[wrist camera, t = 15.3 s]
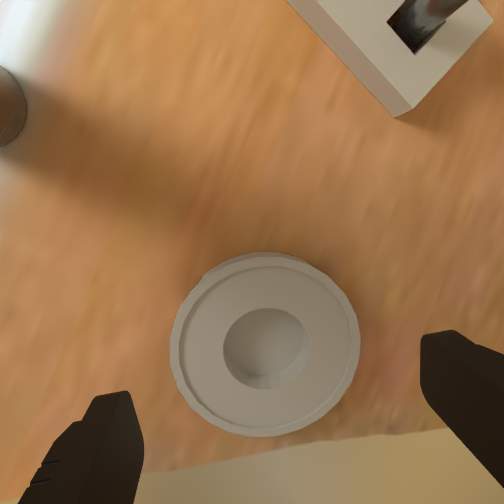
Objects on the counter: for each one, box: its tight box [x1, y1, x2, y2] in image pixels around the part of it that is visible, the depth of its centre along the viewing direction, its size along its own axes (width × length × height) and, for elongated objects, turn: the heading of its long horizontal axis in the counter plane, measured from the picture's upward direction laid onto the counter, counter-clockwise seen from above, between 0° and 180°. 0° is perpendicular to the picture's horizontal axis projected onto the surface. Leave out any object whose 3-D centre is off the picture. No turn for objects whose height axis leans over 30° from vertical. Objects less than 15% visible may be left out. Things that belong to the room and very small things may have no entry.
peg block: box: [286, 0, 494, 118], centre depth 34 cm, size 20×12×4 cm, turn 48°
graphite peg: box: [391, 0, 469, 49], centre depth 30 cm, size 3×3×14 cm
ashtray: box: [170, 252, 361, 437], centre depth 40 cm, size 23×23×4 cm
